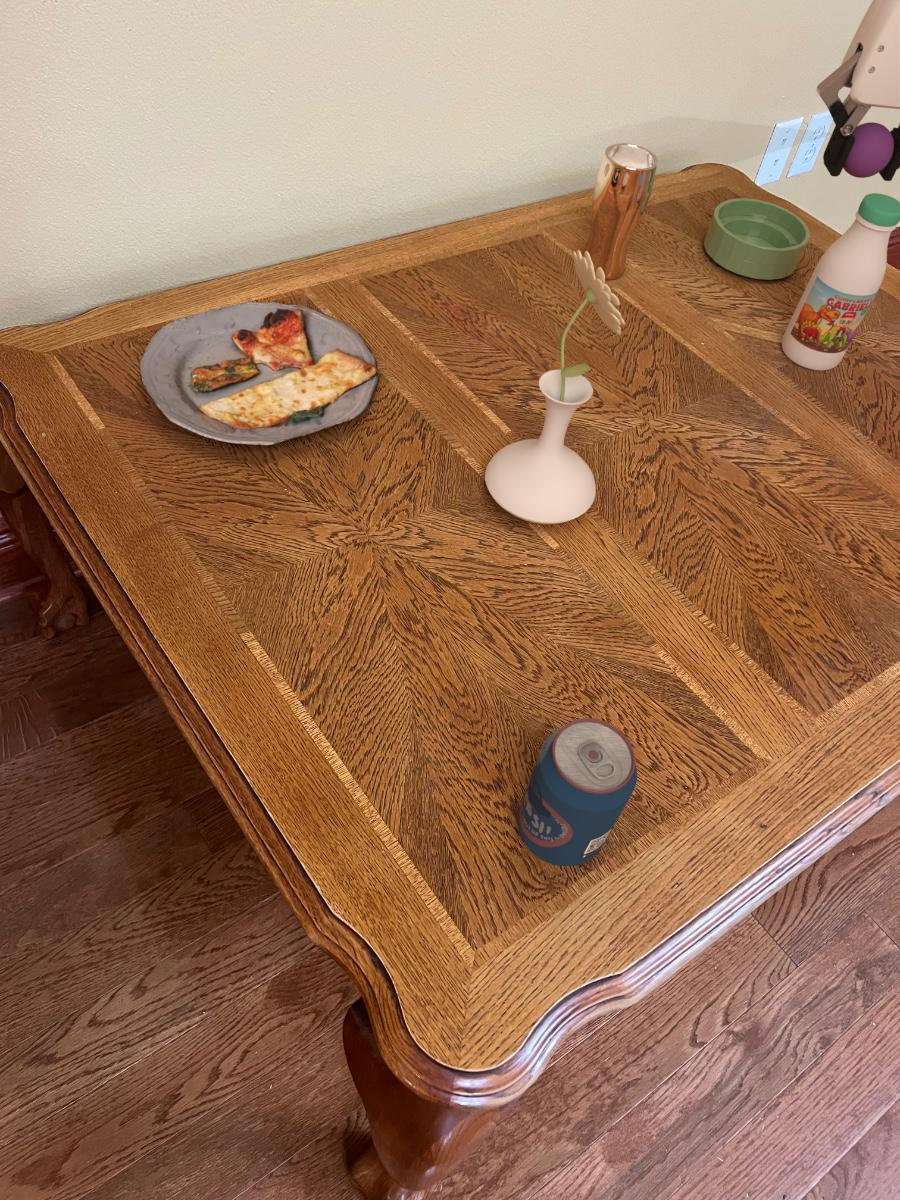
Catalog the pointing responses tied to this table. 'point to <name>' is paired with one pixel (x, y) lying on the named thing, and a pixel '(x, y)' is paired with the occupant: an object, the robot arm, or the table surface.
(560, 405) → the flower in vase
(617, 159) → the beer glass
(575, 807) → the soda can
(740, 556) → the table surface
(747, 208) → the bowl
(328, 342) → the food plate
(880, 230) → the milk bottle
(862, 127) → the ball
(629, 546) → the table surface
